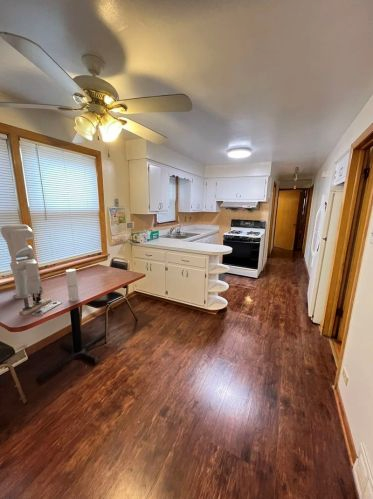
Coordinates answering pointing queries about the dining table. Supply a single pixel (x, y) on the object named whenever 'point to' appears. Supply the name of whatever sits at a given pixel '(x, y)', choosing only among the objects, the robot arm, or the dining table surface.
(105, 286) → the dining table surface
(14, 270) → the robot arm
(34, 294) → the slide pin
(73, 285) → the cylindrical container
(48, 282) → the dining table surface
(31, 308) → the divider rail
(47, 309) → the flange plate
